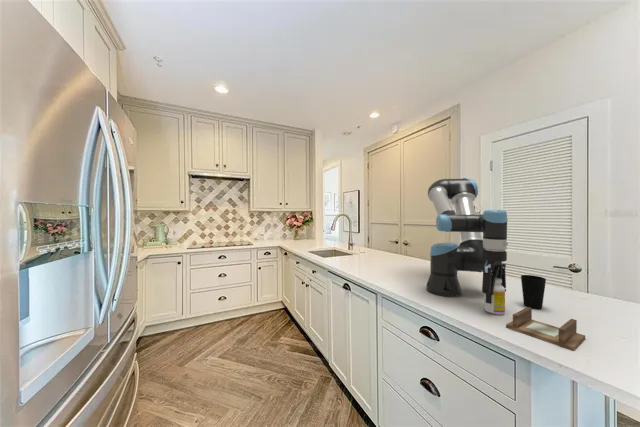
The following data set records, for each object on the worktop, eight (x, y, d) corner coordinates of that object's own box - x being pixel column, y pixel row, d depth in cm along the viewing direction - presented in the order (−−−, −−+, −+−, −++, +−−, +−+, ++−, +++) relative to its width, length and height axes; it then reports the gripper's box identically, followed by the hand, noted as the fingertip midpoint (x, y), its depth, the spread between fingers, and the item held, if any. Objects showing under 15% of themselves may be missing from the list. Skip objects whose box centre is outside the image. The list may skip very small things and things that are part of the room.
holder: (505, 327, 81) (506, 312, 81) (520, 318, 87) (520, 305, 87) (573, 350, 67) (573, 332, 67) (585, 338, 74) (585, 322, 74)
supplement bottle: (508, 316, 90) (508, 281, 89) (488, 314, 91) (488, 280, 91) (499, 309, 96) (499, 276, 96) (480, 307, 98) (481, 275, 98)
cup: (550, 311, 94) (551, 280, 94) (528, 309, 96) (528, 279, 95) (537, 303, 102) (537, 275, 101) (516, 302, 103) (516, 274, 103)
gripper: (493, 253, 85) (493, 318, 85) (517, 249, 95) (516, 307, 96) (471, 250, 91) (470, 311, 92) (495, 246, 102) (494, 301, 102)
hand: (494, 309), depth 94 cm, fingers closed on supplement bottle, 7 cm apart
